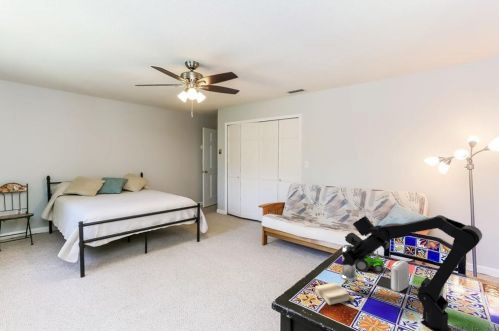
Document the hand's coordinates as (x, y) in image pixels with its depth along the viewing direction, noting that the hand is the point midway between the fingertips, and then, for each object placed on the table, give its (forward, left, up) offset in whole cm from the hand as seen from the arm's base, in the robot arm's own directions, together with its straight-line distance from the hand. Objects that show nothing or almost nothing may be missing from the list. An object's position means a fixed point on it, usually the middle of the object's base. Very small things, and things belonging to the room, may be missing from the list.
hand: (345, 262), depth 115 cm
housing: (-1, 0, -7) cm, 7 cm away
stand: (-3, +10, -12) cm, 16 cm away
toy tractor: (+13, -26, -13) cm, 32 cm away
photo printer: (-8, -24, -13) cm, 28 cm away
